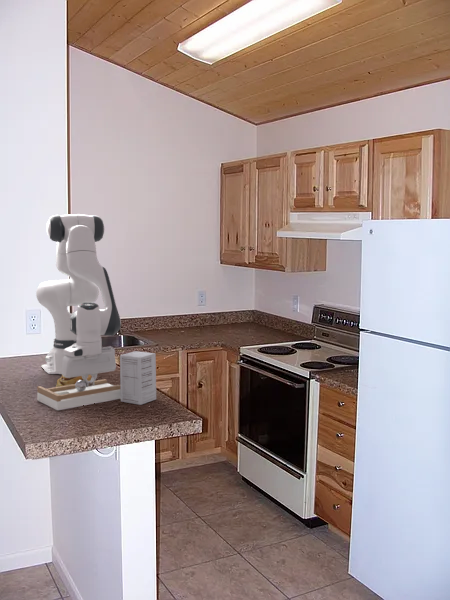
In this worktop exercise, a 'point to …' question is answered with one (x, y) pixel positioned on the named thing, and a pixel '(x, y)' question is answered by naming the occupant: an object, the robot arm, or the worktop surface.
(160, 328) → the worktop surface
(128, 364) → the supplement box
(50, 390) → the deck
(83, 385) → the ball
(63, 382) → the pastry
